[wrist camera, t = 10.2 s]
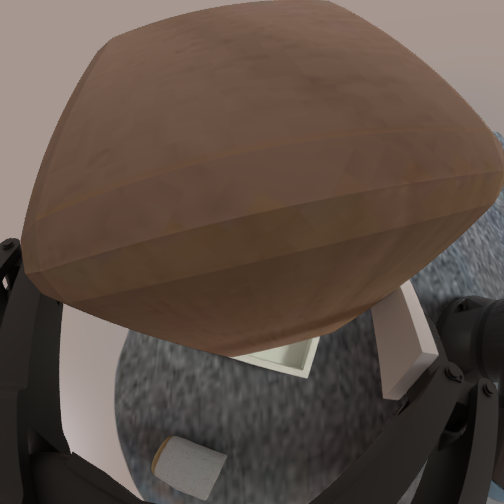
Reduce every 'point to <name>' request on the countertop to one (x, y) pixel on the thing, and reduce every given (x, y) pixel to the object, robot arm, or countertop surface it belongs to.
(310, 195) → the wooden block
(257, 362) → the sage tray
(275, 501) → the countertop surface
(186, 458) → the ceramic mug
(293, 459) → the countertop surface
